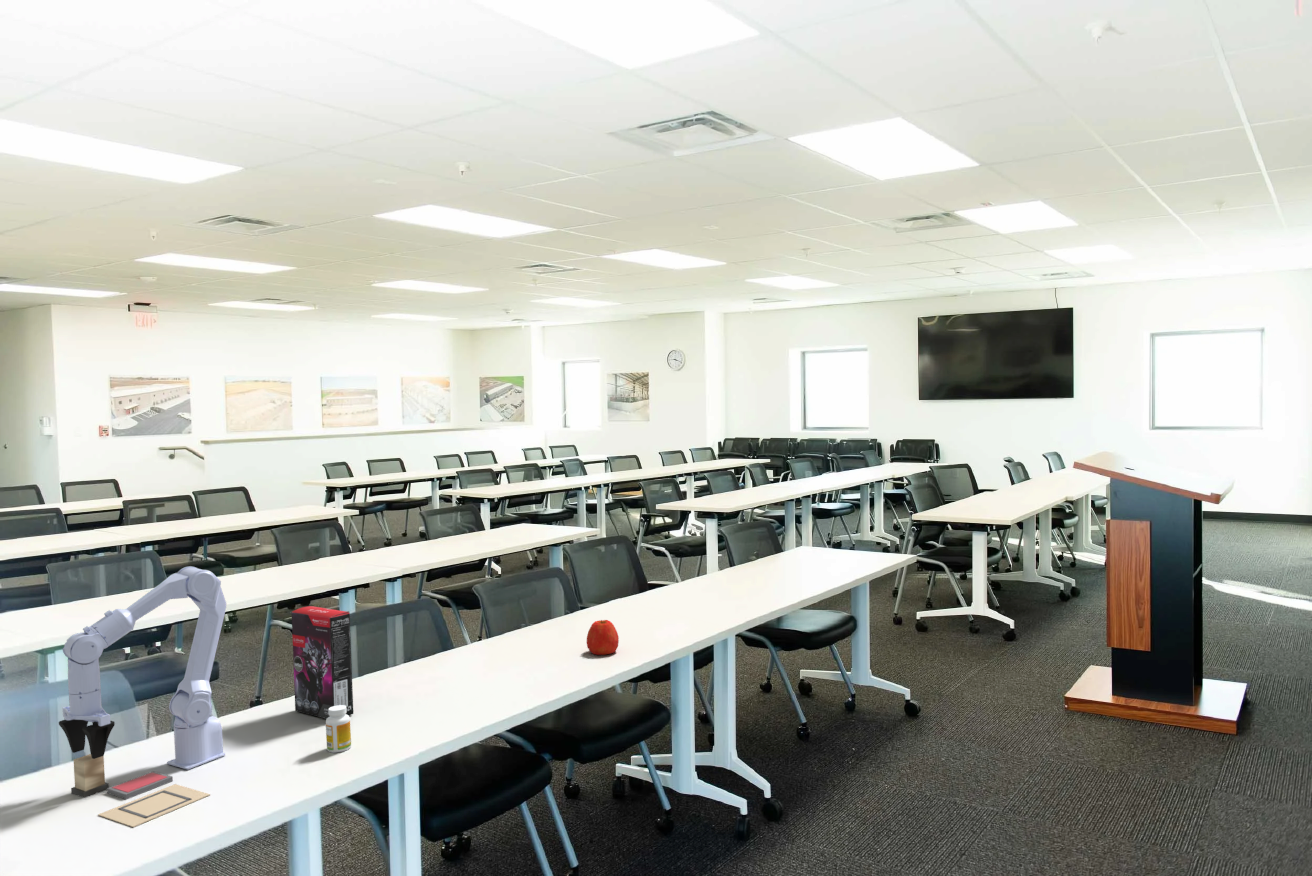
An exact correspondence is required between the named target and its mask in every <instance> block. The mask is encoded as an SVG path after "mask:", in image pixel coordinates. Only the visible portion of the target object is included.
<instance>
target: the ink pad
mask: <svg viewBox="0 0 1312 876" xmlns="http://www.w3.org/2000/svg"><path fill="white" fill-rule="evenodd" d="M173 781H174V780H173V776H172V775H168V774H165V773H161V772H158V771H154V770H152V771H150V772H147V773H144V774H142V775H139V776H137V777H133V778H132V779H128V780H126V781H123V782H120V783H118V784H115V785H112V786H109V788H107V790H106V793H107V794H108V795H113V796H115V797H118V798H121V799H124V800H128V799H130V798H131V799H132V798H133V797H136V796H138V795H141V794H143V793H146V792H149V791H151V790H154V789H156V788H159V787H161V786H163V785H167V784H169V783H171V782H173Z"/></svg>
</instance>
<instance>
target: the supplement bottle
mask: <svg viewBox="0 0 1312 876" xmlns="http://www.w3.org/2000/svg"><path fill="white" fill-rule="evenodd" d="M346 711H347V710H346V706H344V705H337V706H333V707H330V708H329V709H328V714H329V716H330V717H328V718H327V719H326V718H325V734H326V735H325V737H326V738H325V739H326V750H327V752H329V753H342V752H345V751H346V752H347V750H349V749H350V748H351V747H352V733H351V730H352V729H351V716H350V715H349V716H348V715H346Z"/></svg>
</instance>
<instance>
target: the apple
mask: <svg viewBox="0 0 1312 876" xmlns="http://www.w3.org/2000/svg"><path fill="white" fill-rule="evenodd" d="M619 638H620V637H619V634H618V631H617V629H616V627H615V625H614V624H613V623H612V622H611V621H610V620H608V619H600V620H597V621H594V622H593V623H592V624H591V626H590V628H589V629H588V633H587V636H586V646H587V647H586V648H587V649H588V650H589V652H590V653H592V654H593V655H598V656H607V655H610V654H614V653H616V651H617V650H618V647H619V641H620V640H619Z"/></svg>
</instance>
